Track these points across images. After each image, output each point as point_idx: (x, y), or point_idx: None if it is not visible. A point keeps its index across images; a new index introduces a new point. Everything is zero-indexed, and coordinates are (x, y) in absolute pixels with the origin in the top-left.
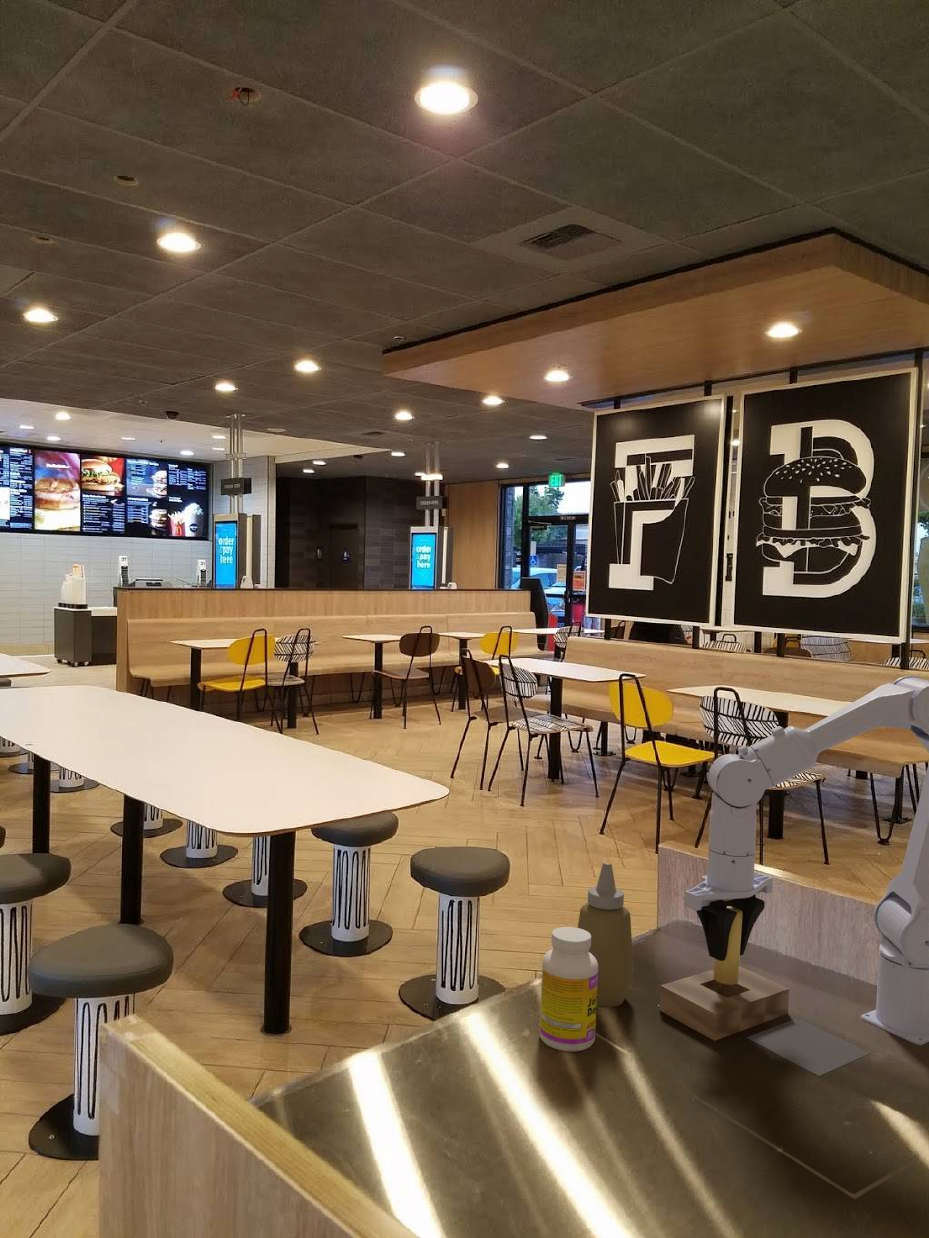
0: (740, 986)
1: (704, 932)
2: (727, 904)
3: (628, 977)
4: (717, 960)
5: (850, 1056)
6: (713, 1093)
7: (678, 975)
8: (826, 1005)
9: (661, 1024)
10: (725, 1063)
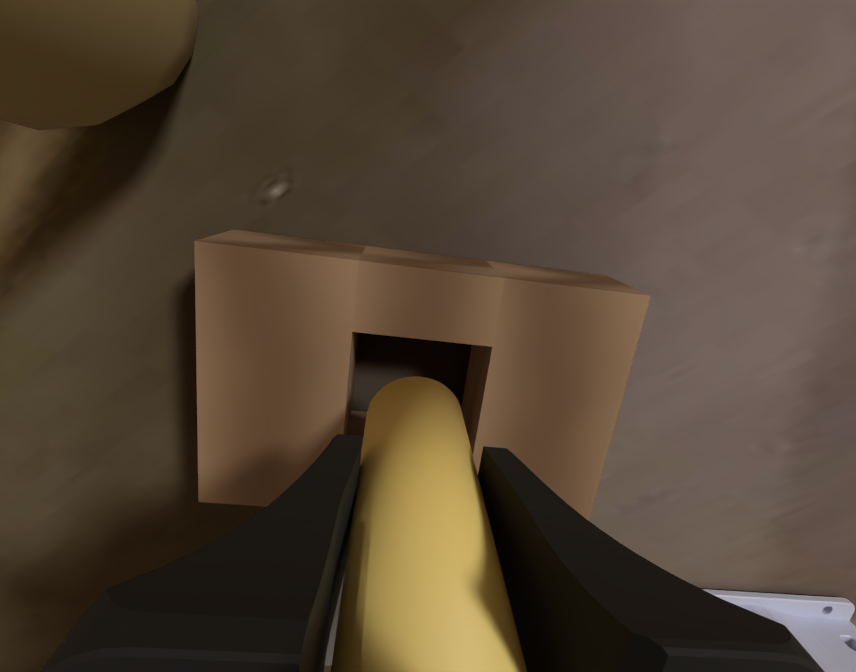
0: (477, 423)
1: (286, 490)
2: (579, 644)
3: (60, 122)
4: (361, 456)
5: None
6: (29, 577)
7: (558, 71)
8: (701, 500)
9: (174, 288)
10: (170, 520)
